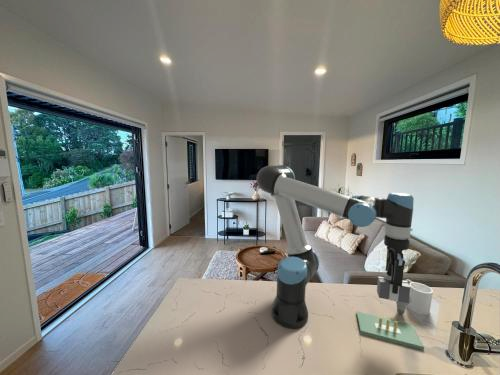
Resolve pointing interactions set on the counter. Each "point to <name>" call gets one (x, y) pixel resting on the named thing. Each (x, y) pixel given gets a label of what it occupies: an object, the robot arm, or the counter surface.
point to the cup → (420, 297)
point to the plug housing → (384, 288)
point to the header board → (389, 330)
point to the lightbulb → (402, 306)
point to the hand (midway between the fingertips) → (391, 296)
